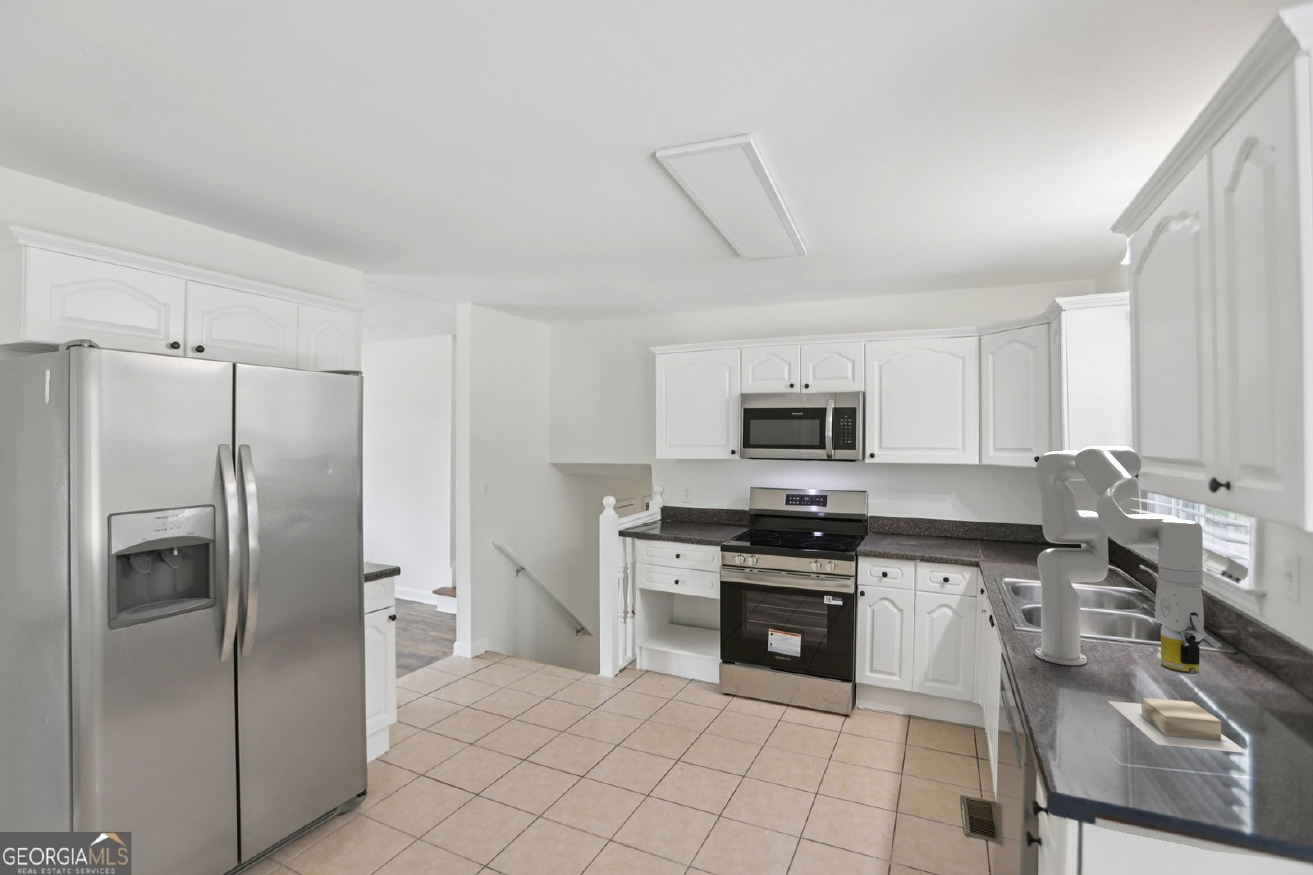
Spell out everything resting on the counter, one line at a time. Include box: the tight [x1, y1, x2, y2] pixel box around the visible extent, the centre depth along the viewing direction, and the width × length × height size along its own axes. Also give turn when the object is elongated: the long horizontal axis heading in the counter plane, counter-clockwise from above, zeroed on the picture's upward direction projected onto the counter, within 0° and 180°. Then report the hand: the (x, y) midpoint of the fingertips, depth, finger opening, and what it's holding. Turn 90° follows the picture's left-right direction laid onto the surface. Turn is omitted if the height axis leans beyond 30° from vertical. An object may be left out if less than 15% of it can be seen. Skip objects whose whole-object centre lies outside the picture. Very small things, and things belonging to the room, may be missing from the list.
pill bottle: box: [1160, 627, 1200, 677], centre depth 139 cm, size 6×6×12 cm
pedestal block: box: [1141, 697, 1222, 740], centre depth 139 cm, size 10×10×4 cm
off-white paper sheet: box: [1107, 700, 1249, 754], centre depth 140 cm, size 22×16×1 cm
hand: (1180, 657), depth 139 cm, fingers closed on pill bottle, 6 cm apart
